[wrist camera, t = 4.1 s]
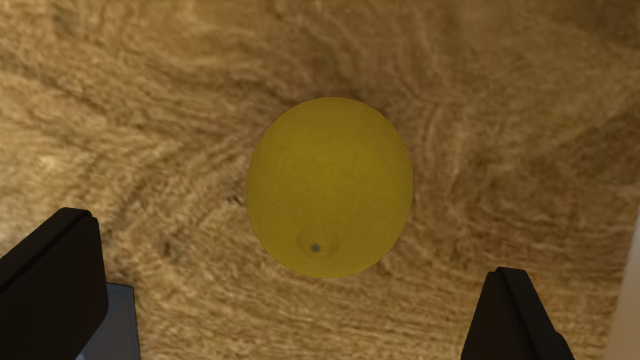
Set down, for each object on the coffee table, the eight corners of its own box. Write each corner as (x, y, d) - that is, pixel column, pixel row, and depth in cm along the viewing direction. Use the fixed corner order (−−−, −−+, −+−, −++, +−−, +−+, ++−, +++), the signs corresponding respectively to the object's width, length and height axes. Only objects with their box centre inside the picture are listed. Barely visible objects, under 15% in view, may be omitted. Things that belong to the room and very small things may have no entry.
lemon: (432, 110, 18) (464, 212, 11) (368, 216, 21) (362, 355, 14) (305, 48, 18) (255, 114, 11) (255, 165, 21) (187, 281, 13)
